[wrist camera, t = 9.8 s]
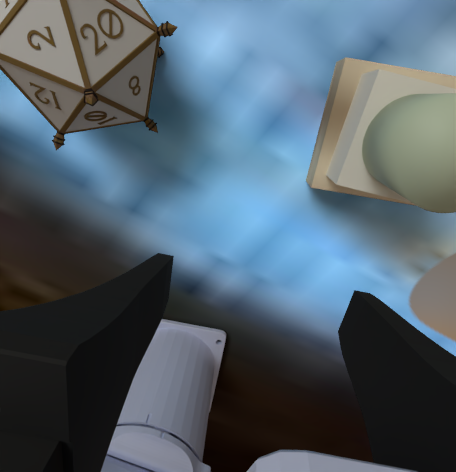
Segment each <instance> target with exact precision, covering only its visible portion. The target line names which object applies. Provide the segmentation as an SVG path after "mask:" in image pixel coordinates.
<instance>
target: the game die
mask: <svg viewBox="0 0 456 472" xmlns="http://www.w3.org/2000/svg"><path fill="white" fill-rule="evenodd" d="M176 29H177V27H176V26H174V25H172V24H170V23H169V22H168V21H166V23H165V24H163V23H162V24H161V26H159V27H157V25H156V24H155V23H154V21H153V20H152V18H151V17H150V15H149V14H148V13H147V11H146V10H145V8H144V7H143V5H142V4H141V3H140V1H139V0H0V69H1V70H2V71H3V73H4V74H5V75H6V76H7V77H8V78H9V79H10V80H11V81H12V82H13V83H14V85H15V86H16V87H17V88H18V89H19V90H20V91H21V92H22V93H23V94H24V95H25V97H26V98H27V99H28V100H29V101H30V102H31V103H32V104H33V105H34V106H35V107H36V109H37V110H38V111H39V112H40V113H41V114H42V115H43V116H44V117H45V118H46V119H47V121H48V122H49V123H50V124H51V125H52V126H53V127H54V128H55V129H56V130H57V134H56V135H55V136H53V137H54V140H52V141H53V142H54V145H55V148H56V150H57V149H59V148H60V147H61V146H62V145H64V144H63V143H64V141H65V139H64V135H65V134H67V133H73V132H80V131H86V130H92V129H98V128H104V127H110V126H116V125H122V124H129V123H135V122H141V121H144V122H145V124H146V127H148V128H149V130H152V131H154V132H157V133H158V131H157V126H156V124H157V123H154V122H153V120H151V119H149V118H148V113H149V106H150V100H151V94H152V87H153V81H154V74H155V68H156V61H157V56H158V57H159V58H160V57H161V55H162V54H163V53H164V51H163V50H162V48H161V47H159V42H160V36H164V37H166V36H168V35H169V36H172V35H173V32H174V31H175V30H176Z"/></svg>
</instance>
